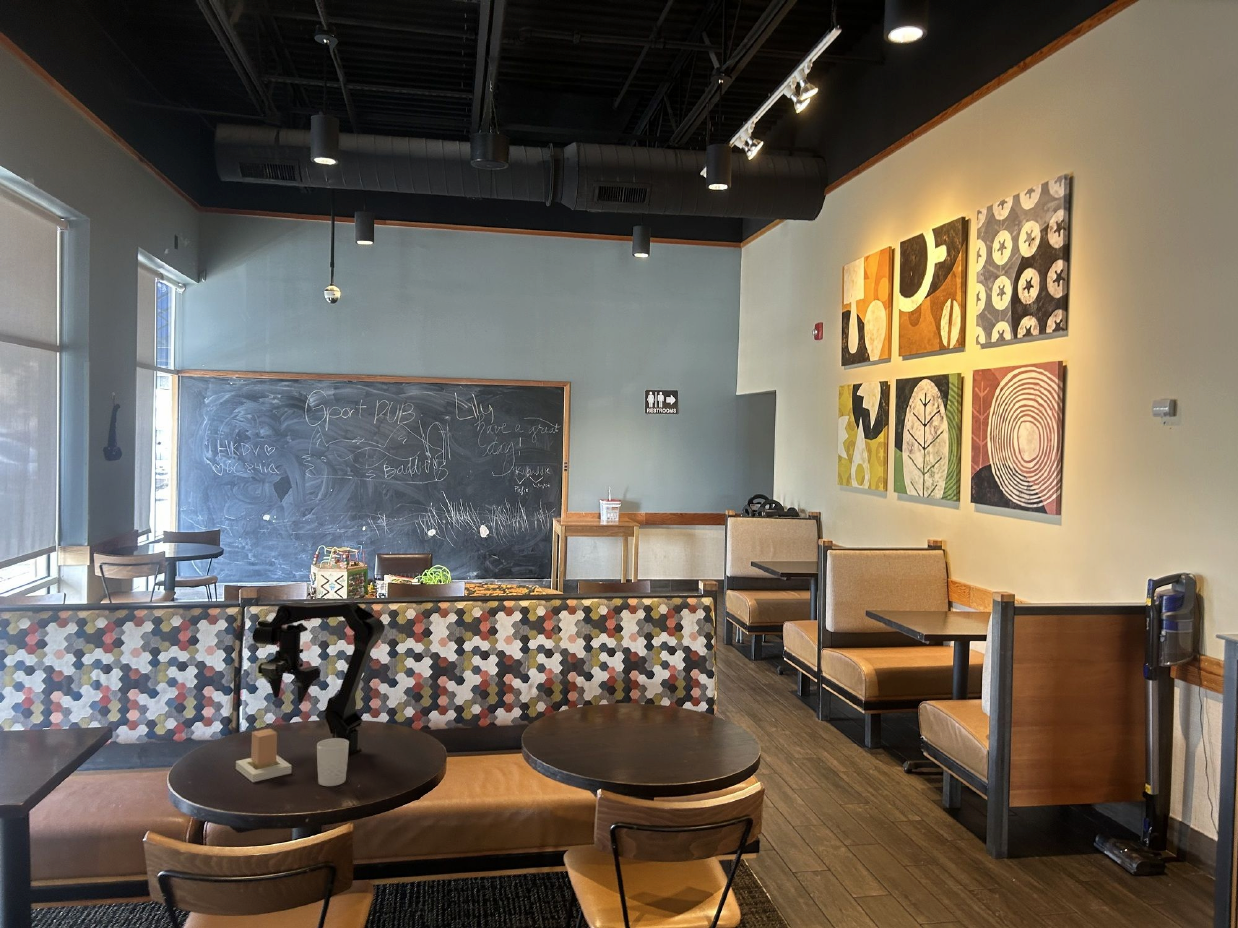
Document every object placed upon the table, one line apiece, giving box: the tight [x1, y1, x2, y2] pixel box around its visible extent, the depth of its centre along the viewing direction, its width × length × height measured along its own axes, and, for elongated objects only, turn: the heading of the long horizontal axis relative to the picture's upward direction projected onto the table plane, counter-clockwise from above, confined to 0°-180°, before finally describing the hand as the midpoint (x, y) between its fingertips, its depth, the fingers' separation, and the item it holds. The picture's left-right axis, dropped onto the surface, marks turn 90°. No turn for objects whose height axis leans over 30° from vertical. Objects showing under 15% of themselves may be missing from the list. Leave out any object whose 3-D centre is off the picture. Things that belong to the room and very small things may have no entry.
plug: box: [250, 728, 278, 770], centre depth 225 cm, size 5×5×10 cm
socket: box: [235, 755, 292, 783], centre depth 225 cm, size 10×12×2 cm
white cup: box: [316, 737, 349, 787], centre depth 220 cm, size 8×8×10 cm
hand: (288, 700), depth 245 cm, fingers open, 9 cm apart
